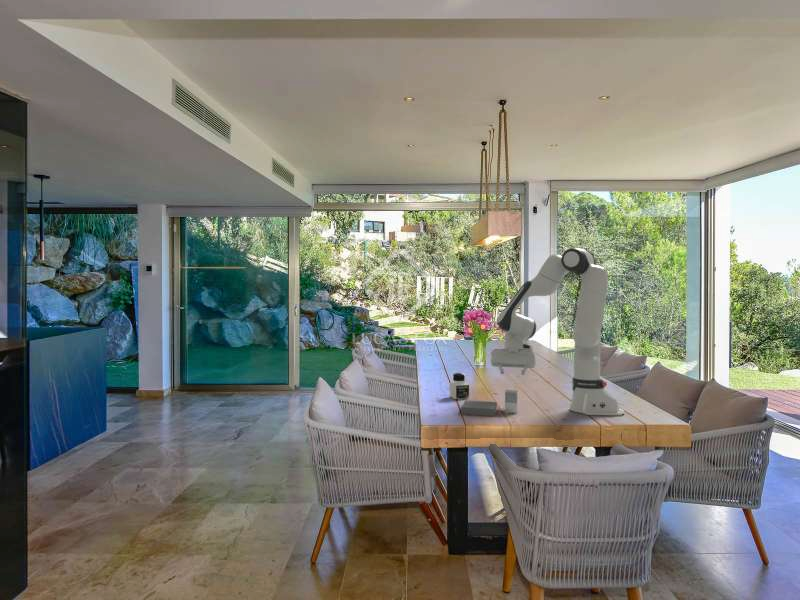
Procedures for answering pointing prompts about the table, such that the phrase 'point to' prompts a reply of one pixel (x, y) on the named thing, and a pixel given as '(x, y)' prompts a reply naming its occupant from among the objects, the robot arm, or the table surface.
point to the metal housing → (511, 401)
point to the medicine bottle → (459, 387)
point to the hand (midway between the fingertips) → (512, 373)
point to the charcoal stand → (479, 408)
